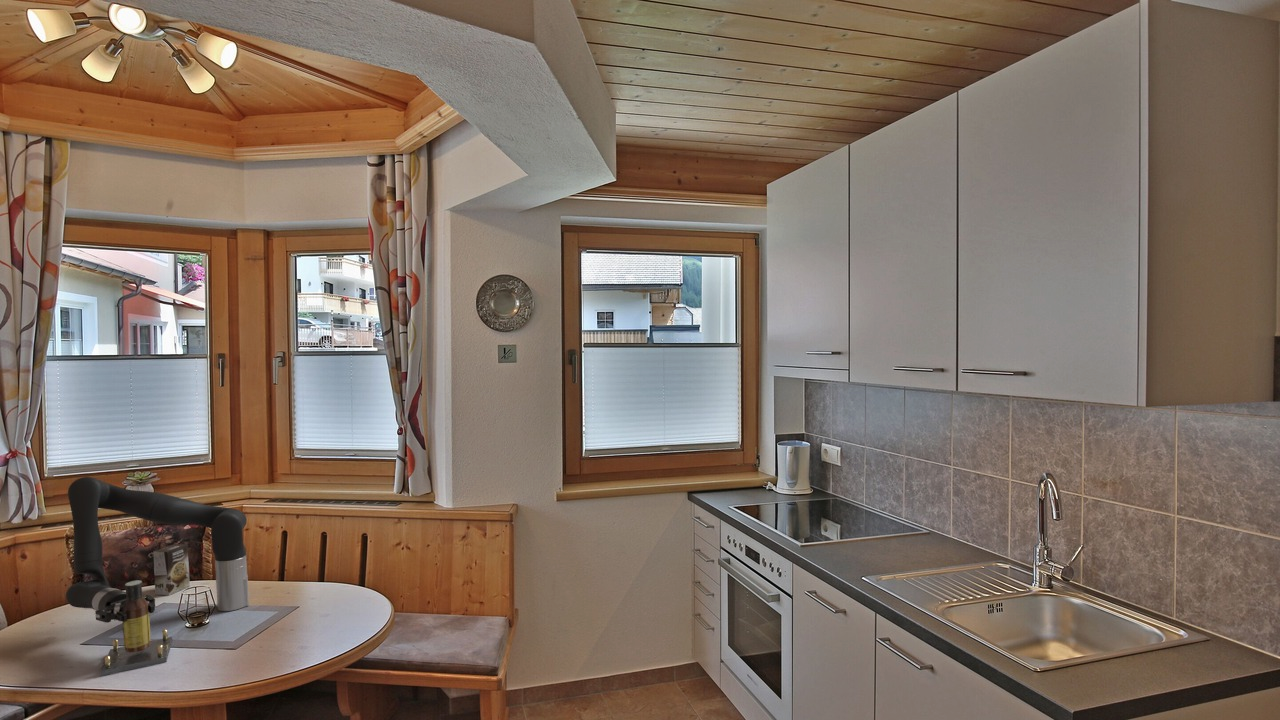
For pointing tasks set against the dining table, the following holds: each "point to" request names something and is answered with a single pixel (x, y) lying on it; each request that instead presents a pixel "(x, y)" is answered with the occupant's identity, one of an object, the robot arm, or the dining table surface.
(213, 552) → the robot arm
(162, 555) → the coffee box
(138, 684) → the dining table surface
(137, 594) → the sauce bottle
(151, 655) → the standoff plate
